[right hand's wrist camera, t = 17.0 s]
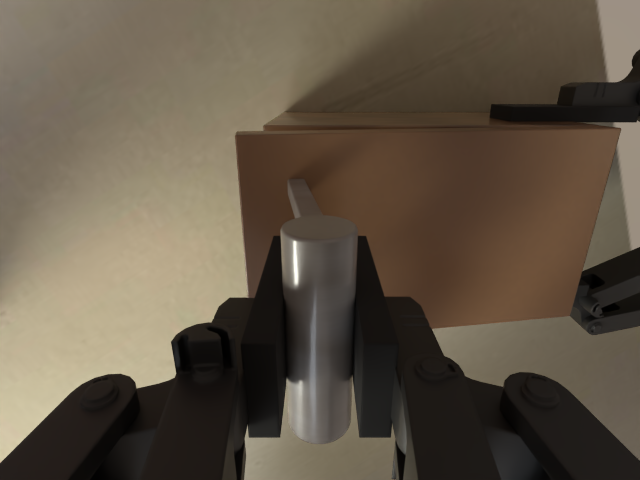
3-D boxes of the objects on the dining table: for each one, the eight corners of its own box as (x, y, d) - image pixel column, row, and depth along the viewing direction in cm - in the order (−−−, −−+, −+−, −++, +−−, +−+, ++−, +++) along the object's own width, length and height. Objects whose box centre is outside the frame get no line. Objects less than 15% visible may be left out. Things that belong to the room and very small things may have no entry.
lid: (251, 330, 19) (248, 494, 12) (236, 131, 16) (217, 175, 8) (554, 304, 22) (720, 425, 14) (599, 125, 18) (855, 154, 10)
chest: (287, 238, 31) (272, 302, 22) (283, 111, 27) (263, 125, 18) (486, 238, 31) (555, 304, 22) (507, 112, 27) (601, 125, 18)
